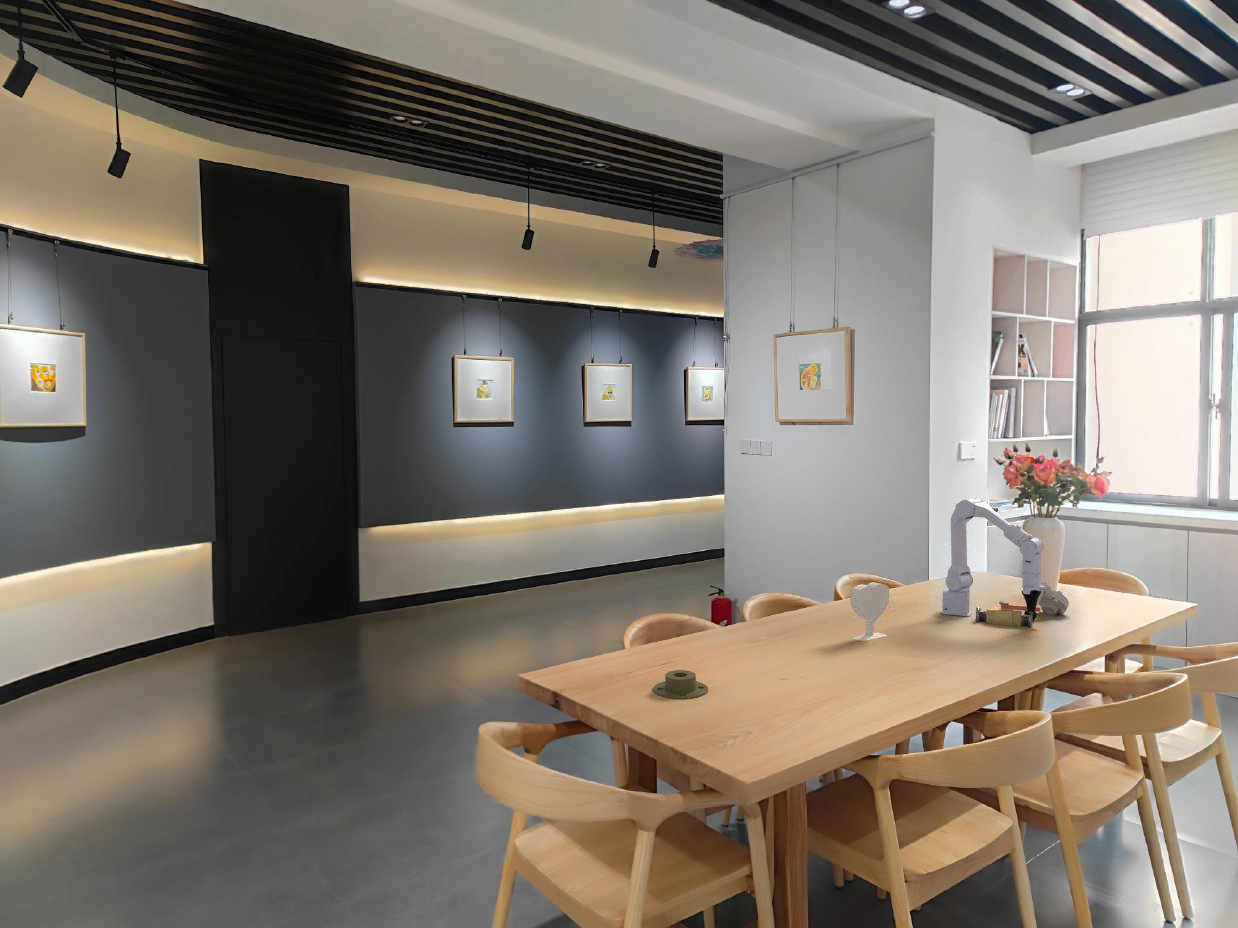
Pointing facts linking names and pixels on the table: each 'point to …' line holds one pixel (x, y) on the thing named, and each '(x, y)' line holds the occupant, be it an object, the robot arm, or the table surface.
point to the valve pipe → (1004, 616)
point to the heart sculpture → (869, 606)
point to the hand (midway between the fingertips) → (1031, 611)
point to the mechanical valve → (1050, 601)
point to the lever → (1016, 607)
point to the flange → (680, 685)
